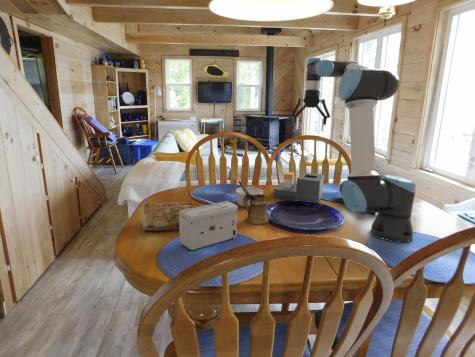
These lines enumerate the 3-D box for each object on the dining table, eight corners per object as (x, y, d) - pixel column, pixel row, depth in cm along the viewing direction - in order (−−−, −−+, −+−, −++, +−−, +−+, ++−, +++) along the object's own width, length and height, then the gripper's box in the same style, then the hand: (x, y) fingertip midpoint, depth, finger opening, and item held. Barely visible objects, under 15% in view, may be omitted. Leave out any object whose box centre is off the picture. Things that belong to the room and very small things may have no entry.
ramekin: (260, 199, 171) (260, 187, 169) (263, 208, 158) (264, 194, 156) (234, 199, 170) (235, 186, 168) (236, 208, 157) (236, 194, 155)
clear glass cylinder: (291, 192, 175) (292, 174, 173) (283, 191, 177) (284, 173, 174) (293, 190, 179) (294, 172, 177) (284, 189, 181) (286, 171, 178)
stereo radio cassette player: (226, 231, 130) (227, 182, 125) (239, 238, 124) (240, 187, 119) (178, 244, 118) (177, 190, 113) (189, 253, 111) (189, 196, 107)
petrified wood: (190, 218, 142) (191, 198, 138) (193, 236, 131) (194, 215, 126) (143, 219, 138) (143, 198, 133) (142, 238, 126) (141, 216, 122)
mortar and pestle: (236, 217, 146) (237, 177, 141) (266, 217, 146) (268, 177, 142) (237, 224, 137) (238, 182, 133) (269, 224, 138) (271, 183, 133)
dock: (318, 204, 166) (320, 181, 163) (273, 198, 173) (274, 176, 170) (322, 195, 180) (324, 174, 177) (280, 190, 188) (282, 170, 185)
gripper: (337, 90, 172) (333, 131, 177) (290, 89, 180) (288, 128, 185) (336, 89, 165) (332, 132, 170) (287, 88, 173) (285, 129, 179)
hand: (309, 130), depth 178 cm, fingers open, 13 cm apart
